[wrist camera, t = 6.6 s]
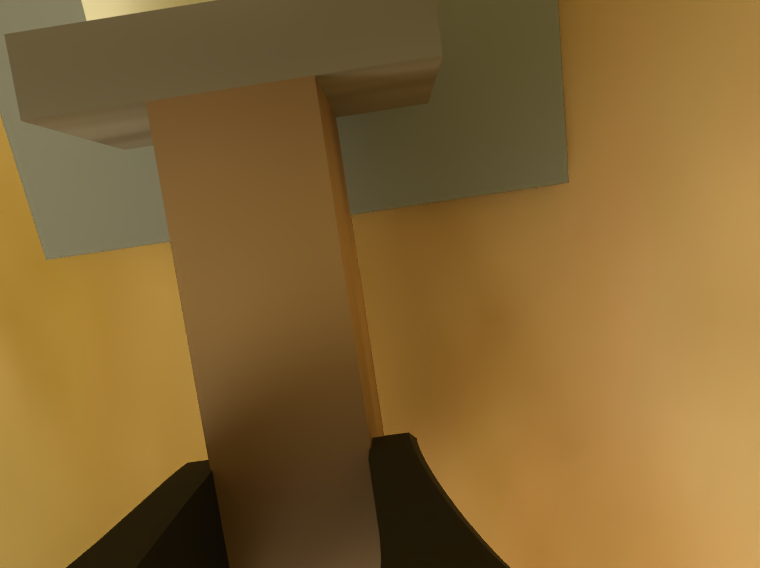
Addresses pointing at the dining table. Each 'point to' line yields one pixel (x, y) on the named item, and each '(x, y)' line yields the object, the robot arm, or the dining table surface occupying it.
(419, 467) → the robot arm
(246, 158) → the hammer
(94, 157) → the mat
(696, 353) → the dining table surface
